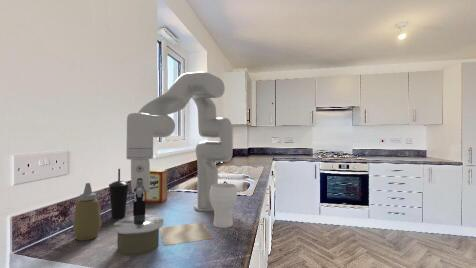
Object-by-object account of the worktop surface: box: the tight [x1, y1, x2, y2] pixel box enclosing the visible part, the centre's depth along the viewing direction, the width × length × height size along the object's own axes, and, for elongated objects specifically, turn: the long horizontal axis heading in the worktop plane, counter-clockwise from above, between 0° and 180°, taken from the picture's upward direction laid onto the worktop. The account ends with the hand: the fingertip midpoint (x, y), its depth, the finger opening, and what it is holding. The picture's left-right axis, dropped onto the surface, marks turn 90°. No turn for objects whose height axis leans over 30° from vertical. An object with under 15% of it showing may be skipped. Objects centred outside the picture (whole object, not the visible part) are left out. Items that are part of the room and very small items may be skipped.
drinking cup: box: [108, 168, 130, 219], centre depth 105 cm, size 8×8×20 cm
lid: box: [113, 214, 164, 235], centre depth 77 cm, size 14×14×6 cm
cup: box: [210, 182, 238, 229], centre depth 97 cm, size 11×11×15 cm
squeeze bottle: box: [72, 182, 102, 242], centre depth 84 cm, size 8×8×18 cm
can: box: [116, 228, 160, 257], centre depth 77 cm, size 12×12×7 cm
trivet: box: [159, 222, 215, 247], centre depth 88 cm, size 16×16×1 cm
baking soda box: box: [145, 168, 168, 204], centre depth 132 cm, size 10×6×16 cm
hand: (139, 210), depth 77 cm, fingers open, 9 cm apart
